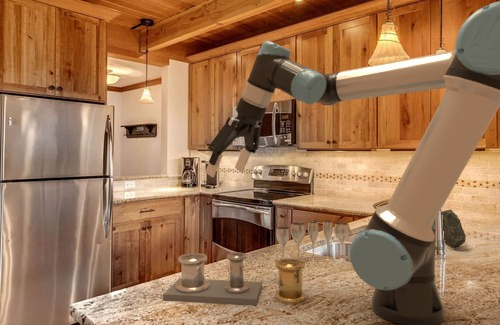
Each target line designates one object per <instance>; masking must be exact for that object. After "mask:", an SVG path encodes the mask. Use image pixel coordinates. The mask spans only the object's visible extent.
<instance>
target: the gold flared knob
mask: <svg viewBox="0 0 500 325" xmlns="http://www.w3.org/2000/svg"><path fill="white" fill-rule="evenodd" d="M299 259H300V258H299ZM299 259H298V258H284V259H283V258H280V259H277V260H275V263H274V264H275V268H277V269H278V291H276V292H275V299H276V300H277V301H278V302H280V301H281V302H280V303H283V302H284V303H283V304H289V303H295V304H300V303H302V302H305V300H306V293H305V292H303V270H304V269H305V268H306V261H305V262H304V261H302V260H299Z"/></svg>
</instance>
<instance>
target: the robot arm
mask: <svg viewBox="0 0 500 325" xmlns="http://www.w3.org/2000/svg"><path fill="white" fill-rule="evenodd" d="M290 58H291V50H290V49H289V48H286V47H284V46H281V45H279V44H277V43H275V42H273V41H270V40H265V41H264V42H263V43H262V44H261V46H260V49H259V50H258V53H257V54H256V57H255V59H254V63H253V65H252V69H251V71H250V74H249V77H248V78H247V81H246V84H245V85H244V88H243V91H242V92H241V95H242V97H241V98H239V100H238V102H237V106H236V107H235V112H237V116H236V117H235V118H234V117H232V116H230V115H229V116H228V117H227V119H226V121H225V123H224V125H223V126H222V127H221V129H220V130H219V132H218V133H217V135H215V137H214V139H213V140H212V141H211V143H210V144H209V145H208V147H207V148H208V150H210V151H212V152H211V155H210V157H209V159H208V164H207V166H206V168H205V172H204V173H206V174H207V175H208V176H210V178H214V177H215V176H216V173H217V171H218V168H219V167H220V164H221V161H222V159H223V156H224V155H223V153H224V151H226V149H228V147H230V145H231V144H233V142H234V141H235V140H236V139H239V138H241V137H242V136H243V138H244V148H242V150H241V152H240V154H239V156H238V158H237V162H236V163H235V166H234V169H236V170H237V171H239V172H240V173H243V172H244V171H245V168H246V166H247V164H248V161H249V158H250V156H251V154H255V153H256V152H257V150H258V149H259V143H260V138H261V130H262V127H263V123H264V121H263V119H264V116H265V115H266V112H267V108H266V107H269V105H270V103H271V101H272V98H273V96H274V93H275V90H276V89H277V90H280V91H281V92H283V93H285V94H287V95H289V96H290V97H292V98H294V99H295V100H296V101H297V102H302V103H304V104H306V105H314V103H316V104H320V105H322V106H335V105H337V104H339V103H340V102H346V101H354V100H363V99H369V98H370V99H371V98H377V97H378V98H379V97H386V96H394V95H401V94H403V95H404V94H411V93H419V92H425V91H434V90H436V91H437V90H442V89H446V91H445V93H444V95H443V97H442V99H441V101H440V103H439V105H438V106H437V109H436V110H435V112H434V114H433V116H432V118H431V120H430V122H429V124H428V126H427V128H426V130H425V131H424V133H423V134H422V135H423V136H422V137H421V139H420V140H419V141H420V142H419V143H418V145H417V146H416V149H415V150H414V153H413V155H412V156H411V159H410V161H409V162H408V164H407V166H406V168H405V170H404V172H403V174H402V175H401V178H400V180H399V181H398V183H397V185H396V187H395V189H394V191H393V192H392V195H391V197H390V198H389V200H388V203H387V204H385V205H381V206H377V207H376V208H375V210H374V212H373V214H372V216H371V218H370V219H369V221H368V223H367V225H366V227H365V229H364V230H362V231H361V232H359V234H357V236H355V238H354V239H353V241H352V243H351V244H350V247H349V248H350V249H349V260H350V262H351V265H352V267H353V270H354V272H355V274H356V275H357V276H358V277H359V278H360V279H361V280H362V281H363V282H364V283H366V284H367V285H369V286H370V287H372V288H374V292H373V294H372V297H371V298H372V299H371V309H372V311H373V312H374V313H375V314H376V315H378V316H379V317H380V318H382V319H384V320H387V321H389V322H392V323H395V324H399V325H439V324H441V323H442V322H443V321H444V313H445V311H444V306H443V303H442V299H441V297H440V294H439V291H438V288H437V286H436V282H435V281H436V278H435V277H436V276H435V274H436V273H435V272H436V270H435V267H436V264H435V263H436V260H435V259H436V257H435V256H436V254H435V253H436V252H435V250H436V248H435V246H436V244H435V243H436V229H437V228H436V226H435V220H437V219H436V218H437V217H438V216H439V214H440V213H441V212H440V211H441V210H442V208H443V207H444V205H445V203H446V201H447V200H448V198H449V196H450V194H451V192H452V190H453V189H454V187H455V186H456V184H457V182H458V180H459V179H460V177H461V175H462V173H463V172H464V171H465V170H464V169H465V168H466V167H467V165H468V163H469V161H470V159H471V158H472V155H473V154H474V152H475V150H476V149H477V147H478V146H479V144H480V142H481V140H482V138H483V136H484V135H485V133H486V131H487V130H488V128H489V126H490V125H491V123H492V121H493V119H494V118H495V116H496V114H497V113H498V111H499V109H500V0H499V1H495V2H492V3H489V4H487V5H485V6H483V7H481V8H479V9H478V10H476V11H475V12H473V13H472V14H471V15H469V16H468V17H467V19H466V20H465V21H464V22H463V23H462V25H461V26H460V28H459V31H458V32H457V35H456V39H455V45H454V49H453V50H450V51H449V50H448V51H443V52H438V53H432V54H427V55H423V56H417V57H412V58H406V59H402V60H395V61H391V62H384V63H379V64H375V65H369V66H364V67H358V68H352V69H347V70H342V71H337V72H331V73H324V72H321V71H318V70H316V69H315V70H314V69H313V68H311V67H307V66H306V65H303V64H301V63H298V62H296V61H294V60H292V59H290Z"/></svg>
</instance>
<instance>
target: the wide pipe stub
mask: <svg viewBox="0 0 500 325" xmlns="http://www.w3.org/2000/svg"><path fill="white" fill-rule="evenodd" d="M177 258H178V260H177V261H178V263H179V264H181V265H180V266H181V268H180V269H181V270H180V272H181V278H182V280H181V281H179V282H178V283H177V284H176V290H177V291H179V292H182V293H198V292H202V291H205V290H207V289H208V288H209V287H210V282H209V281H208V280H209V279H208V280H206V278H205V262H207V261H208V256H207V254H205V253H198V252H195V253H193V252H192V253H191V252H190V253H186V254H181V255H180V256H178V257H177Z"/></svg>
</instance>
